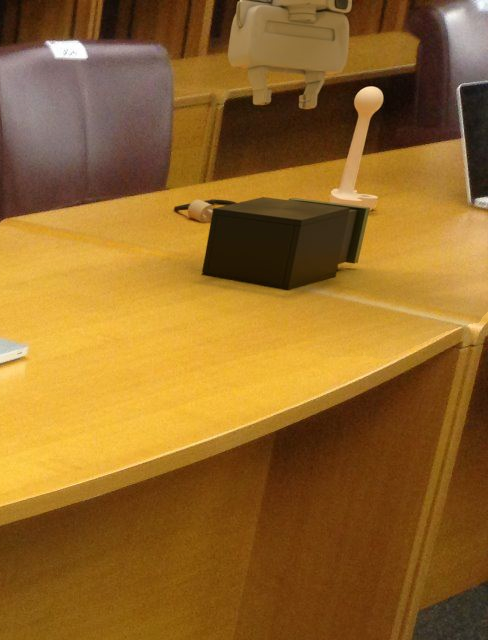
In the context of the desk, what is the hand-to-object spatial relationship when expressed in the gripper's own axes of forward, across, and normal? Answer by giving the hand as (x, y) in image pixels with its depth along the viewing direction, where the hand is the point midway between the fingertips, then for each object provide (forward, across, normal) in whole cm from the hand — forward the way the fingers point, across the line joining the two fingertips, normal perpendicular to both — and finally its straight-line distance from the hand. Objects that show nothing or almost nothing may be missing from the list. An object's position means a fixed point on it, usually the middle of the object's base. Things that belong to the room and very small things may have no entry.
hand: (284, 106), depth 208 cm
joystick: (+9, +63, +34) cm, 72 cm away
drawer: (+20, +13, +5) cm, 25 cm away
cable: (+10, +35, +39) cm, 54 cm away
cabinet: (+22, +3, +3) cm, 23 cm away
